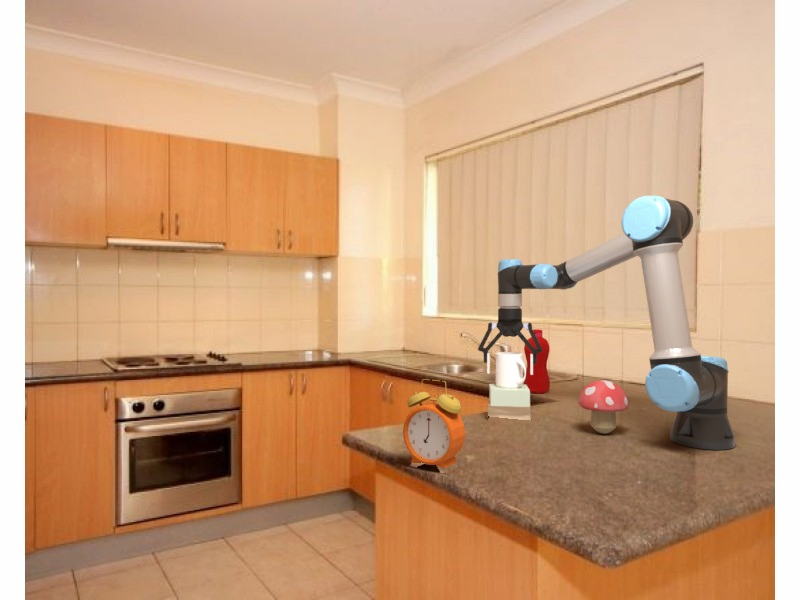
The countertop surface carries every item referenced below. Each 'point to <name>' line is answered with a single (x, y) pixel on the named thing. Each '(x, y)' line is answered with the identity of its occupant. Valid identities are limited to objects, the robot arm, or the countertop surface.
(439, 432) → the alarm clock
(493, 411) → the tower base
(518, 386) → the mug
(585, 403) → the decorative mushroom
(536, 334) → the water bottle
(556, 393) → the countertop surface
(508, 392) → the tower top
